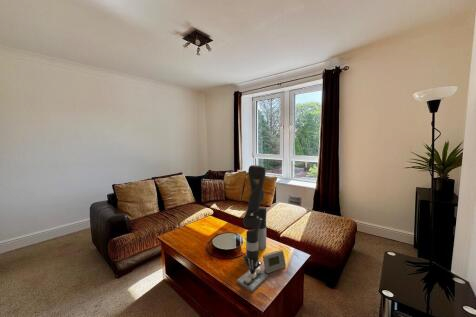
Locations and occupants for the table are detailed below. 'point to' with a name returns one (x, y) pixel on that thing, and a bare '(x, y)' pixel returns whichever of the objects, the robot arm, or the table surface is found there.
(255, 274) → the button
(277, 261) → the digital clock
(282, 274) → the table surface
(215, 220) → the table surface
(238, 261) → the table surface
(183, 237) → the table surface
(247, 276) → the button
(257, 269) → the button
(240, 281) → the button board
